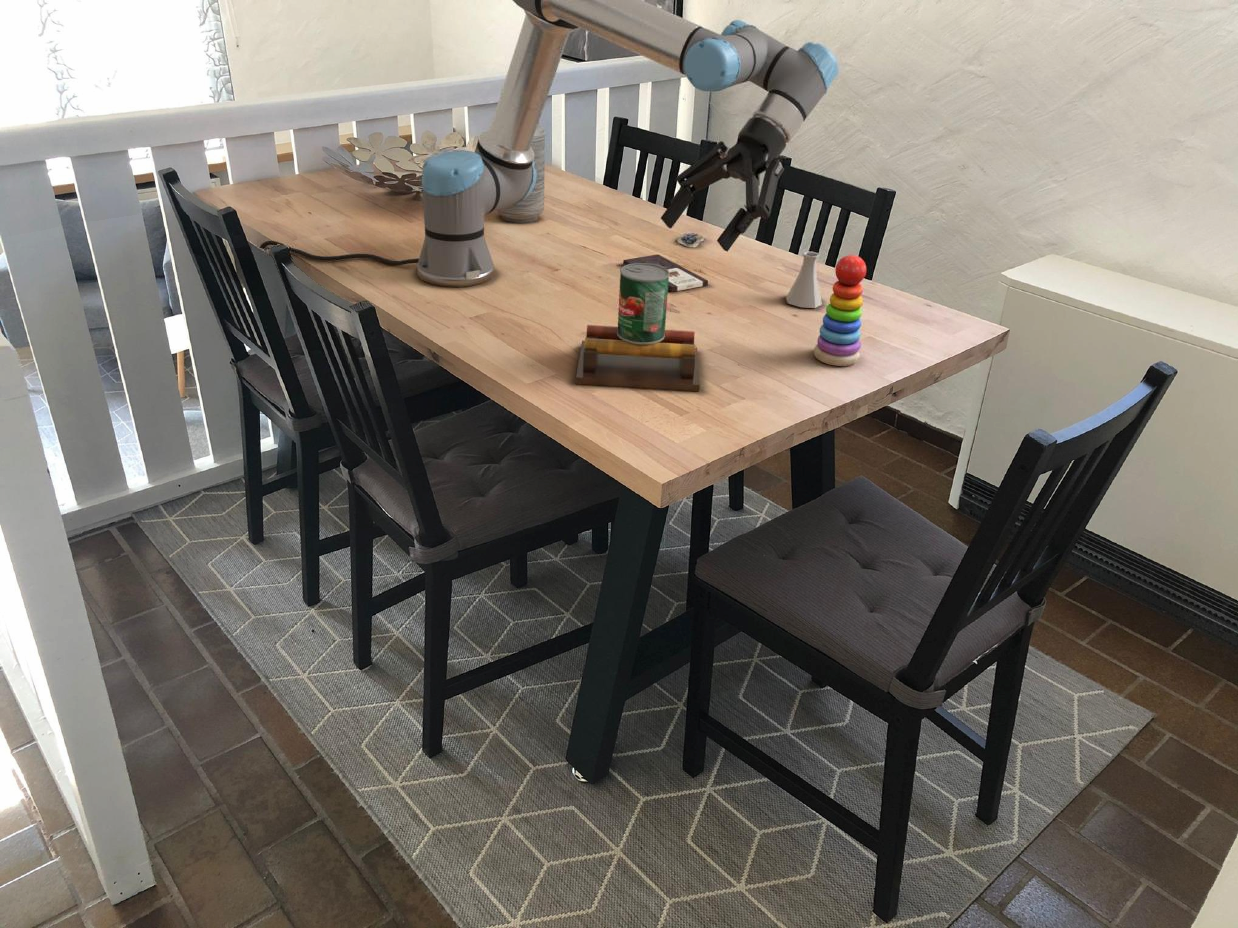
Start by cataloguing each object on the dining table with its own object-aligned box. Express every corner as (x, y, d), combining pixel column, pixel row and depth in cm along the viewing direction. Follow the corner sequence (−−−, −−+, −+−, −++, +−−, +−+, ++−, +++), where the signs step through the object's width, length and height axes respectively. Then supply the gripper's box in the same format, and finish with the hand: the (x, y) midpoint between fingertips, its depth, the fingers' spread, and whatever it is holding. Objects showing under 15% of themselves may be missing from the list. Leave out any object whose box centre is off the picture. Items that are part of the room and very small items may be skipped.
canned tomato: (673, 333, 164) (678, 270, 158) (649, 349, 158) (653, 283, 152) (632, 322, 167) (636, 259, 161) (607, 336, 161) (610, 272, 156)
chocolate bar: (658, 254, 214) (708, 280, 201) (657, 258, 214) (707, 285, 201) (623, 260, 209) (672, 287, 197) (623, 264, 210) (671, 291, 197)
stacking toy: (808, 348, 176) (824, 247, 167) (851, 349, 177) (870, 248, 167) (819, 367, 169) (837, 262, 160) (864, 368, 170) (884, 263, 161)
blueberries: (706, 238, 229) (707, 230, 228) (705, 249, 222) (706, 240, 221) (677, 236, 229) (678, 227, 228) (676, 246, 223) (676, 238, 222)
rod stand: (575, 384, 159) (576, 349, 156) (582, 346, 172) (583, 314, 169) (699, 391, 159) (702, 357, 156) (696, 353, 172) (699, 321, 169)
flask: (824, 299, 198) (832, 251, 193) (818, 311, 192) (827, 262, 187) (789, 293, 200) (796, 245, 195) (782, 305, 194) (789, 256, 189)
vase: (524, 228, 228) (524, 125, 217) (485, 218, 234) (483, 117, 222) (553, 217, 237) (555, 118, 225) (514, 207, 242) (514, 110, 231)
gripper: (835, 162, 156) (757, 270, 155) (726, 130, 172) (654, 227, 171) (818, 131, 150) (737, 242, 149) (706, 101, 166) (633, 201, 166)
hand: (692, 234), depth 160 cm, fingers open, 13 cm apart
